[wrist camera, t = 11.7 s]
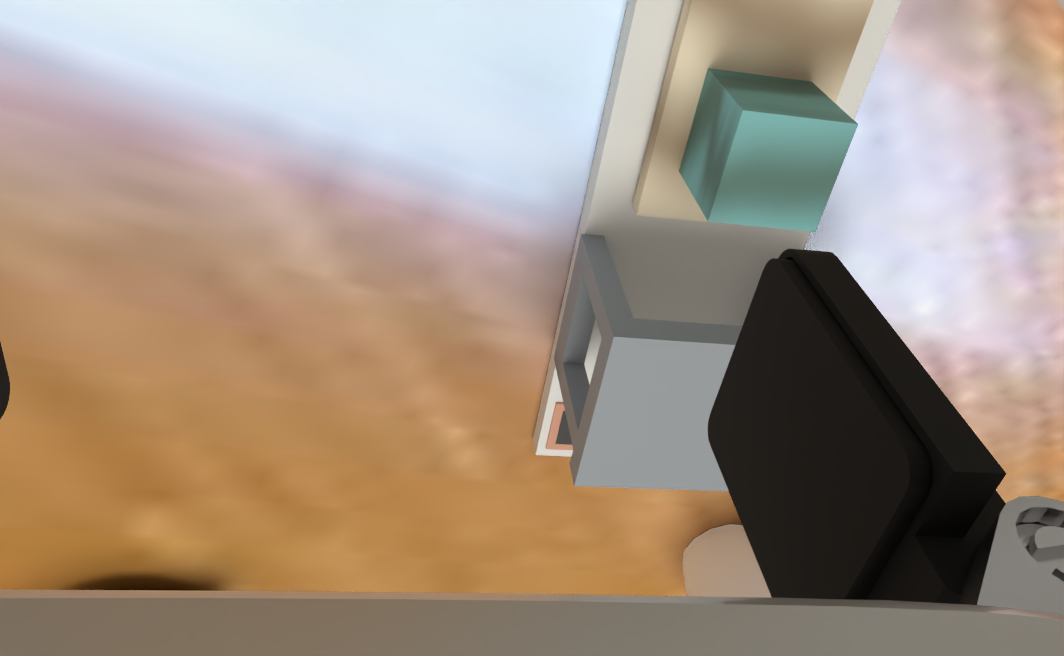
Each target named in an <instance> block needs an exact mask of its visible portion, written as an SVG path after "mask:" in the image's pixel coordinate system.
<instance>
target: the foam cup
mask: <svg viewBox="0 0 1064 656" xmlns="http://www.w3.org/2000/svg"><path fill="white" fill-rule="evenodd" d="M682 565H683V575H684V581H685V588H686V594H687V596H704V597H767V598H772V597H771V594H770V592H769V589H768V587H767V585H766V582H765V580H764V577H763V575H762V572H761V570H760V567H759V565H758V562H757V560H756V557H755V555H754V552H753V550H752V547H751V545H750V542H749V540H748V537H747V535H746V533H745V530H744V528H743V525H735V524H728V525H724V526H720V527H716V528H712V529H709V530H708V531H706V532H704V533H703V534H701V535H699V536H697V537H696V538H694V539H693V540H692V542H691V543H690V544H689V545H688V547H687V548H686V549H685V550H684V554H683V560H682Z"/></svg>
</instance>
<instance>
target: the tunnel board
mask: <svg viewBox="0 0 1064 656" xmlns="http://www.w3.org/2000/svg"><path fill="white" fill-rule="evenodd" d="M900 2H901V0H874V2H873V4H872V7H871V10H870V12H869V15H868V18H867V20H866V23H865V26H864V28H863V31H862V34H861V36H860V39H859V42H858V44H857V47H856V50H855V52H854V55H853V58H852V60H851V63H850V66H849V68H848V71H847V74H846V76H845V79H844V82H843V84H842V87H841V90H840V92H839V95H838V98H837V100H836V104H837V105H838V106H839V107H840V108H841V109H842V110H843V111H844V112H845V113H846V114H848V115H849V116H850V117H851V118H852V119H853V120H854V119H855V117H856V114H857V112H858V109H859V107H860V104H861V101H862V99H863V96H864V94H865V91H866V89H867V86H868V84H869V81H870V79H871V76H872V73H873V71H874V68H875V66H876V63H877V61H878V58H879V56H880V53H881V51H882V48H883V45H884V43H885V40H886V38H887V35H888V33H889V30H890V28H891V25H892V23H893V20H894V17H895V15H896V12H897V10H898V7H899V5H900ZM683 4H684V0H628V2H627V7H626V11H625V16H624V21H623V25H622V30H621V35H620V39H619V44H618V48H617V53H616V58H615V62H614V67H613V71H612V76H611V81H610V85H609V90H608V94H607V99H606V104H605V108H604V113H603V118H602V122H601V127H600V131H599V136H598V141H597V145H596V150H595V154H594V159H593V164H592V168H591V173H590V177H589V182H588V187H587V191H586V196H585V201H584V205H583V210H582V214H581V219H580V224H579V228H578V233H577V237H576V242H575V247H574V251H573V256H572V260H571V265H570V270H569V274H568V279H567V284H566V288H565V293H564V297H563V302H562V307H561V311H560V316H559V320H558V325H557V330H556V334H555V339H554V343H553V348H552V353H551V357H550V362H549V367H548V371H547V376H546V380H545V385H544V390H543V394H542V399H541V403H540V408H539V413H538V417H537V422H536V426H535V431H534V436H533V442H534V448H535V454H536V455H550V456H571V460H570V468H571V473H572V478H573V482H574V486H589V487H618V488H647V489H676V490H705V491H729V490H728V488H727V486H726V483H725V481H724V478H723V476H722V473H721V471H720V468H719V466H718V463H717V461H716V458H715V456H714V453H713V451H712V448H711V446H710V443H709V439H708V420H709V416H710V413H711V410H712V407H713V405H714V402H715V399H716V397H717V394H718V391H719V388H720V386H721V383H722V380H723V378H724V375H725V372H726V369H727V367H728V364H729V361H730V359H731V356H732V353H733V350H734V348H735V345H736V342H737V340H738V337H739V334H740V331H741V329H742V326H743V323H744V320H745V318H746V315H747V312H748V310H749V307H750V304H751V301H752V299H753V296H754V293H755V291H756V288H757V285H758V282H759V280H760V277H761V274H762V272H763V269H764V267H765V265H766V263H767V262H768V261H769V260H770V259H772V258H776V259H778V258H779V256H780V255H781V254H782V252H783V251H785V250H787V249H800V250H803V249H804V246H805V244H806V241H807V239H808V236H809V234H810V231H800V230H789V229H777V228H767V227H756V226H746V225H735V224H725V223H714V222H704V221H693V220H683V219H672V218H662V217H651V216H641V215H636V213H635V210H634V208H633V206H632V205H633V201H634V197H635V194H636V190H637V186H638V182H639V178H640V174H641V170H642V166H643V162H644V158H645V154H646V150H647V146H648V142H649V138H650V134H651V130H652V126H653V122H654V118H655V115H656V111H657V107H658V103H659V99H660V95H661V91H662V87H663V83H664V79H665V75H666V71H667V67H668V63H669V59H670V55H671V51H672V47H673V43H674V40H675V36H676V32H677V28H678V24H679V20H680V16H681V12H682V8H683Z"/></svg>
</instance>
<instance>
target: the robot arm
mask: <svg viewBox="0 0 1064 656" xmlns="http://www.w3.org/2000/svg"><path fill="white" fill-rule="evenodd" d="M9 394H10V382H9V376H8V372H7V368H6V364H5V360H4V355H3V351H2V347H1V343H0V419H1V417H2V416H3V414H4V412H5V410H6V408H7V404H8V401H9ZM708 439H709V443H710V446H711V448H712V451H713V453H714V456H715V458H716V461H717V463H718V466H719V468H720V471H721V473H722V476H723V478H724V481H725V483H726V486H727V488H728V490H729V493H730V495H731V498H732V500H733V503H734V505H735V508H736V510H737V513H738V515H739V518H740V520H741V523H742V525H743V528H744V530H745V533H746V535H747V537H748V540H749V542H750V545H751V547H752V550H753V552H754V555H755V557H756V560H757V562H758V565H759V567H760V570H761V572H762V575H763V577H764V580H765V582H766V585H767V587H768V589H769V592H770V594H771V597H772V598H767V597H704V596H641V595H579V594H502V593H413V592H310V591H184V590H0V656H1064V502H1062V501H1059V500H1054V499H1049V498H1044V497H1039V496H1027V497H1018V498H1016V499H1014V500H1011V501H1009V502H1007V503H1005V502H1004V501H1003V499H1002V498H1001V497H1000V495H999V494H998V493H997V491H996V488H997V487H998V485H999V484H1000V482H1001V481H1002V479H1003V478H1004V476H1005V475H1006V473H1005V471H1004V470H1003V469H1002V468H1001V466H1000V465H999V464H998V462H997V461H996V460H995V459H994V457H993V456H992V455H991V453H990V452H989V451H988V450H987V448H986V447H985V446H984V445H983V443H982V442H981V441H980V439H979V438H978V437H977V436H976V434H975V433H974V432H973V430H972V429H971V428H970V427H969V425H968V424H967V423H966V421H965V420H964V419H963V418H962V416H961V415H960V414H959V413H958V411H957V410H956V409H955V407H954V406H953V405H952V404H951V402H950V401H949V400H948V398H947V397H946V396H945V395H944V393H943V392H942V391H941V389H940V388H939V387H938V386H937V384H936V383H935V382H934V380H933V379H932V378H931V377H930V375H929V374H928V373H927V372H926V370H925V369H924V368H923V366H922V365H921V364H920V363H919V361H918V360H917V359H916V357H915V356H914V355H913V354H912V352H911V351H910V350H909V348H908V347H907V346H906V345H905V343H904V342H903V341H902V340H901V338H900V337H899V336H898V334H897V333H896V332H895V331H894V329H893V328H892V327H891V325H890V324H889V323H888V322H887V320H886V319H885V318H884V316H883V315H882V314H881V313H880V311H879V310H878V309H877V308H876V306H875V305H874V304H873V302H872V301H871V300H870V299H869V297H868V296H867V295H866V293H865V292H864V291H863V290H862V288H861V287H860V286H859V284H858V283H857V282H856V281H855V279H854V278H853V277H852V276H851V274H850V273H849V272H848V270H847V269H846V268H845V267H844V265H843V264H842V263H841V261H840V260H839V259H838V258H837V256H835V255H834V254H833V253H831V252H822V251H811V250H800V249H787V250H785V251H783V252H782V254H781V255H780V256H779V258H778V259H776V258H772V259H770V260H769V261H768V262H767V263H766V265H765V267H764V269H763V272H762V274H761V277H760V280H759V282H758V285H757V288H756V291H755V293H754V296H753V299H752V301H751V304H750V307H749V310H748V312H747V315H746V318H745V320H744V323H743V326H742V329H741V331H740V334H739V337H738V340H737V342H736V345H735V348H734V350H733V353H732V356H731V359H730V361H729V364H728V367H727V369H726V372H725V375H724V378H723V380H722V383H721V386H720V388H719V391H718V394H717V397H716V399H715V402H714V405H713V407H712V410H711V413H710V416H709V420H708Z"/></svg>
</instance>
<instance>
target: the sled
mask: <svg viewBox="0 0 1064 656" xmlns="http://www.w3.org/2000/svg"><path fill="white" fill-rule="evenodd" d="M873 2H874V0H684V4H683V8H682V12H681V16H680V20H679V24H678V28H677V32H676V36H675V40H674V43H673V47H672V51H671V55H670V59H669V63H668V67H667V71H666V75H665V79H664V83H663V87H662V91H661V95H660V99H659V103H658V107H657V111H656V115H655V118H654V122H653V126H652V130H651V134H650V138H649V142H648V146H647V150H646V154H645V158H644V162H643V166H642V170H641V174H640V178H639V182H638V186H637V190H636V194H635V197H634V201H633V205H632V206H633V208H634V210H635V213H636V215H641V216H651V217H662V218H672V219H683V220H693V221H704V222H714V223H725V224H735V225H746V226H756V227H767V228H777V229H789V230H800V231H810V232H815V231H816V229H817V226H818V224H819V221H820V219H821V216H822V214H823V211H824V209H825V206H826V204H827V201H828V199H829V196H830V194H831V191H832V189H833V186H834V184H835V181H836V179H837V176H838V174H839V171H840V168H841V166H842V163H843V161H844V158H845V156H846V153H847V151H848V148H849V146H850V143H851V141H852V138H853V136H854V133H855V131H856V128H857V126H858V124H857V123H856V122H855V121H854V120H853V119H852V118H851V117H850V116H849V115H848V114H846V113H845V112H844V111H843V110H842V109H841V108H840V107H839V106H838V105H837V104H836V100H837V98H838V95H839V92H840V90H841V87H842V84H843V82H844V79H845V76H846V74H847V71H848V68H849V66H850V63H851V60H852V58H853V55H854V52H855V50H856V47H857V44H858V42H859V39H860V36H861V34H862V31H863V28H864V26H865V23H866V20H867V18H868V15H869V12H870V10H871V7H872V4H873Z"/></svg>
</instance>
